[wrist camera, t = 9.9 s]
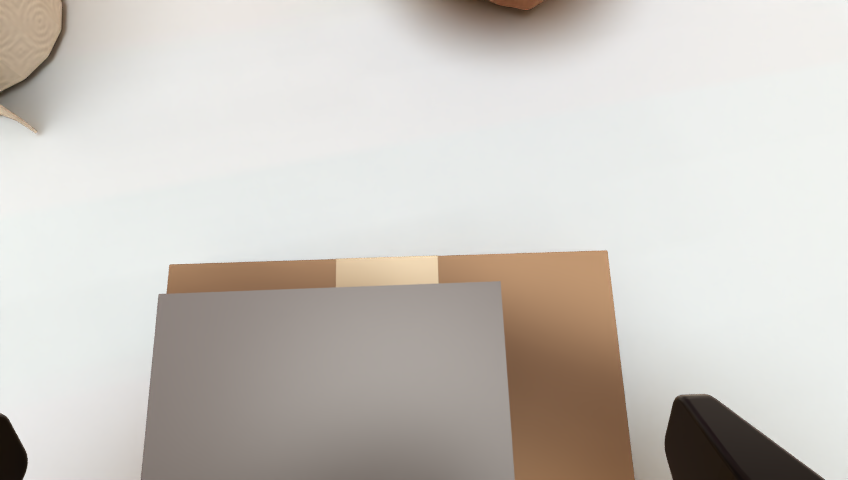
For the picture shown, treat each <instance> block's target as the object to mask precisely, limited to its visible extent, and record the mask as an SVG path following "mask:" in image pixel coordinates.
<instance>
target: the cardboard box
mask: <svg viewBox="0 0 848 480" xmlns="http://www.w3.org/2000/svg"><path fill="white" fill-rule="evenodd" d="M492 281H501V294H502V308H503V322H504V336H505V350H506V364H507V378H508V392H509V406H510V420H511V434H512V448H513V462H514V476H515V480H635V479H634V471H633V462H632V454H631V445H630V437H629V429H628V420H627V412H626V403H625V395H624V387H623V378H622V370H621V361H620V353H619V345H618V336H617V328H616V319H615V311H614V303H613V294H612V286H611V277H610V269H609V261H608V252H607V251H578V252H546V253H515V254H484V255H453V256H409V257H378V258H346V259H328V260H297V261H266V262H235V263H204V264H172V265H169V275H168V285H167V294H175V293H201V292H228V291H254V290H281V289H307V288H334V287H360V286H387V285H413V284H439V283H466V282H492Z"/></svg>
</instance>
